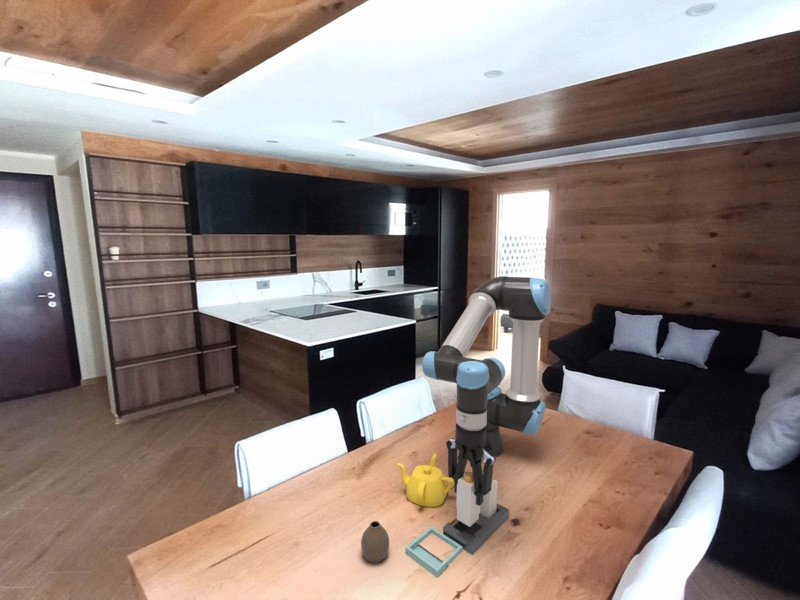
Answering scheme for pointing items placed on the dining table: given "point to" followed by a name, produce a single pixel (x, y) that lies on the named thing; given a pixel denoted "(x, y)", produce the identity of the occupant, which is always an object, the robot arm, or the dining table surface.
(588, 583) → the dining table surface
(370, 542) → the vase
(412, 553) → the tray
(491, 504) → the twin plug
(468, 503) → the plug
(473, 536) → the grey socket base
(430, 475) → the teapot
